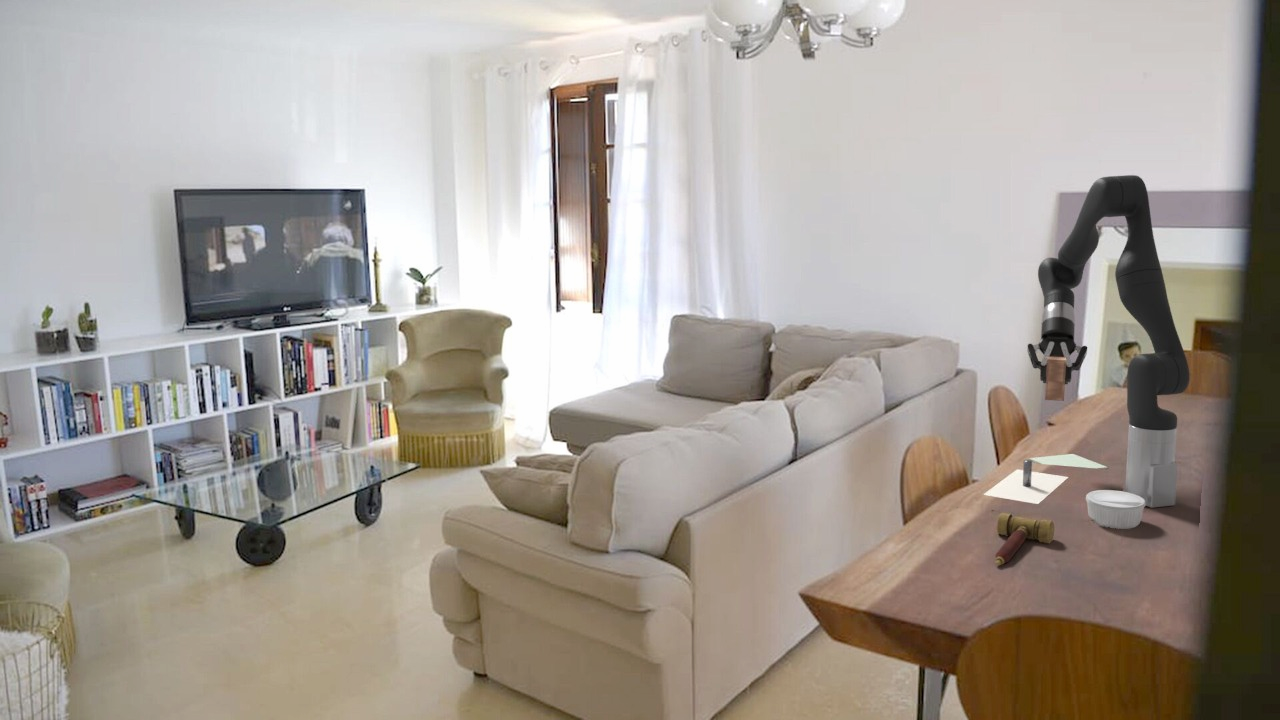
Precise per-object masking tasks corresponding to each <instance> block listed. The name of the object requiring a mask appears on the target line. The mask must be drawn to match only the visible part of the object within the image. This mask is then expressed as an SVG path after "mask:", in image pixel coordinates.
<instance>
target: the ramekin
mask: <svg viewBox="0 0 1280 720" xmlns="http://www.w3.org/2000/svg"><path fill="white" fill-rule="evenodd" d="M1085 501H1086V503H1087V512H1088V513H1087V514H1088V516H1089V517H1090V518H1091V522H1092V521H1093V524H1095V523H1096V525H1098V526H1100V525H1101V527H1104V526H1105V527H1106V528H1108V527H1110V529H1115V528H1116V529H1117V530H1118V529H1119V530H1127V529H1133V528H1136V527H1138V525H1140V523H1141V521H1142V517H1143V513H1144V508H1145V507H1146V506H1145V500H1144V499H1143V498H1142V497H1140V496H1138V495H1135V494H1132V493H1128V492H1125V491H1123V490H1122V491H1121V490H1112V489H1099V490H1098V489H1097V490H1093V491H1090V492H1088V493H1087V494H1086V495H1085ZM1105 527H1104V528H1105Z"/></svg>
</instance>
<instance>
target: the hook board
mask: <svg viewBox="0 0 1280 720" xmlns="http://www.w3.org/2000/svg"><path fill="white" fill-rule="evenodd" d="M1022 466H1023V469H1017V468H1016V469H1015V470H1014V471H1013V472H1011V473H1010V474H1009V475H1007V476H1005V478H1004V479H1002V480H1001V481H999V482H998V483H997V484H995V486H992V488H990V489H989V490H986V492H985V493H983V494H982V495H983V496H987V497H988V496H989V497H994V498H1000V499H1004V500H1010V501H1016V502H1021V503H1027V504H1033V505H1039V504H1040V503H1041V502H1043V501H1044V500H1045V499H1046V498H1047V497H1048V496H1049V495H1051V494H1052V492H1054V491H1055V490H1057V488H1058V487H1059V486H1060V485H1062V484H1063V483H1064V482H1065V481H1066V480H1067V479H1069V476H1063V475H1056V474H1049V473H1044V472H1037V471H1032V470H1033V461H1031V460H1029V459H1024V460H1023V465H1022Z"/></svg>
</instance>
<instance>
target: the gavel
mask: <svg viewBox="0 0 1280 720" xmlns="http://www.w3.org/2000/svg"><path fill="white" fill-rule="evenodd" d="M996 530H997V531H996V532H997V534H998V535H999V534H1001V535H1000V536H1003V535H1009V534H1010V535H1009V536H1008V538H1007V539H1006V541H1004V543H1003V544H1002V546H1001V547H1000V548H999V549H998V551H997V552H996V553H995V560H994V561H995V562H994V564H995V565H996V566H998V567H999V566H1003V565H1006V564H1007V563H1009V562H1010V560H1011V559H1012V557H1014V555H1015V554H1016V552H1017V551H1018V550H1019V549H1020V547H1021V546H1022V544H1023V543H1024V542H1025V541H1026V539H1027V540H1033V541H1035V540H1038V542H1039V543H1042V542H1044V543H1043V544H1047V543H1049V544H1051V543H1052V542H1053V540H1052V539H1054V535H1055V524H1054V521H1053V520H1048V519H1041V520H1040V521H1039V520H1038V519H1032V518H1025V517H1020V516H1013V514H1011V513H1006V512H1001V513H1000V514H999V515H998V518H997V523H996ZM1051 541H1052V542H1051ZM1050 542H1051V543H1050ZM1005 563H1006V564H1005Z"/></svg>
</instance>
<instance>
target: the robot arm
mask: <svg viewBox="0 0 1280 720" xmlns="http://www.w3.org/2000/svg"><path fill="white" fill-rule="evenodd" d="M1149 201H1150V199H1149V194H1148V189H1147V186H1146V184H1145V182H1144V180H1143V178H1142V177H1140V176H1139V175H1135V174H1131V175H1130V174H1127V175H1113V176H1103V177H1100V178H1098V179H1096V180H1095V181H1094V182H1093V183H1092V185H1091V187H1090V188H1089V190H1088V193H1087V194H1086V197H1085V199H1084V202H1083V204H1082V207H1081V209H1080V212H1079V213H1078V217H1077V219H1076V222H1075V224H1074V226H1073V228H1072V231H1071V232H1070V234H1069V235H1068V237H1067V238H1066V240H1065V241H1064V242H1063V244H1062V245H1061V246H1060V248H1059V251H1058V252H1057V258H1056V257H1047V258H1044V259H1043V260H1042V261H1041V262H1040V264H1039V266H1038V269H1037V278H1038V282H1039V284H1040V285H1039V286H1040V288H1041V291H1042V292H1041V293H1042V295H1043V310H1042V311H1043V312H1042V315H1041V316H1042V317H1041V323H1040V324H1041V331H1040V333H1041V334H1040V341H1039V342H1038V344H1037V343H1036V344H1033V343H1028V344H1027V354H1028V357H1029V359H1030V360H1029V361H1030V363H1031V366H1032V367H1033V369H1039V371H1040V374H1039V380H1040V381H1041V382H1042V383H1043V384H1046V369H1047V357H1050V356H1055V357H1064V358H1066V373H1065V385H1068V384H1069V383H1071V381H1072V372H1074V371H1076V372H1077V371H1080V369H1081V367H1082V364H1083V363H1084V361H1085V358H1086V356H1087V354H1088V346H1086V345H1082V346H1080V345H1077V343H1076V342H1075V327H1076V323H1075V321H1076V315H1075V293H1074V292H1073V290H1072V289H1075V288H1077V287H1078V286H1079V285H1080V284H1081V282H1082V279H1083V274H1084V270H1085V266H1086V264H1087V263H1088V261H1089V260H1090V259H1091V257H1092V256H1093V254H1094V253H1095V251H1096V249H1097V248H1098V246H1099V242H1100V236H1099V231H1098V228H1097V224H1098V223H1099V221H1101V220H1102V219H1103V218H1114V217H1116V218H1117V217H1124V218H1125V220H1126V225H1127V226H1126V227H1127V240H1126V242H1125V243H1126V244H1125V246H1124V248H1123V250H1122V252H1121V255H1120V257H1119V258H1118V262H1117V264H1116V267H1115V273H1114V275H1115V282H1116V287H1117V290H1118V295H1119V299H1120V302H1121V303H1122V305H1123V307H1124V308H1125V309H1126V310H1127V312H1128V313H1129V314H1130V315H1131V316H1132V317H1133V319H1134V320H1136V321H1137V323H1138V324H1139V325H1140V326H1141V328H1143V329H1144V331H1145V332H1146V334H1147V335H1148V337H1149V340H1150V341H1151V345H1152V348H1153V350H1154V352H1153V353H1149V352H1148V353H1140V354H1136V355H1134V356H1133V357H1132V358H1131V360H1130V362H1128V363H1129V364H1128V368H1127V373H1126V393H1127V394H1126V395H1127V396H1126V408H1127V413H1128V418H1129V420H1128V423H1129V424H1128V436H1127V437H1128V438H1127V439H1128V440H1127V452H1126V454H1127V455H1126V470H1125V489H1124V492H1128V493H1132V494H1135V495H1138V496H1140V497H1142V498H1143V499H1144V500H1145V507H1149V508H1160V507H1162V508H1163V507H1169V506H1176V498H1177V497H1176V495H1177V484H1178V472H1179V471H1178V469H1179V464H1178V462H1175V459H1176V458H1175V457H1176V456H1175V455H1176V444H1177V428H1178V416H1177V414H1176V413H1174V412H1172V411H1170V410H1167V409H1163V408H1162V407H1159V405H1158V404H1159V403H1158V396H1169V395H1178V394H1182V393H1184V392H1185V391H1186V390H1188V387H1189V384H1190V379H1191V377H1190V376H1191V375H1190V369H1189V368H1190V367H1189V363H1188V359H1187V357H1186V353H1185V351H1184V348H1183V345H1182V341H1181V340H1180V337H1179V334H1178V331H1177V328H1176V324H1175V322H1174V318H1173V314H1172V311H1171V307H1170V303H1169V299H1168V295H1167V288H1166V283H1165V280H1164V279H1165V278H1164V275H1163V270H1162V267H1161V263H1160V259H1159V255H1158V251H1157V246H1156V242H1155V237H1154V231H1153V225H1152V217H1151V208H1150V202H1149ZM1038 351H1040V352H1041V353H1042V354H1043V358H1042V360H1041V361H1039V358H1038V356H1037V353H1038ZM1075 352H1076V355H1077V357H1076V360H1075V361H1074V362H1072V359H1071V355H1072V354H1073V353H1075Z"/></svg>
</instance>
